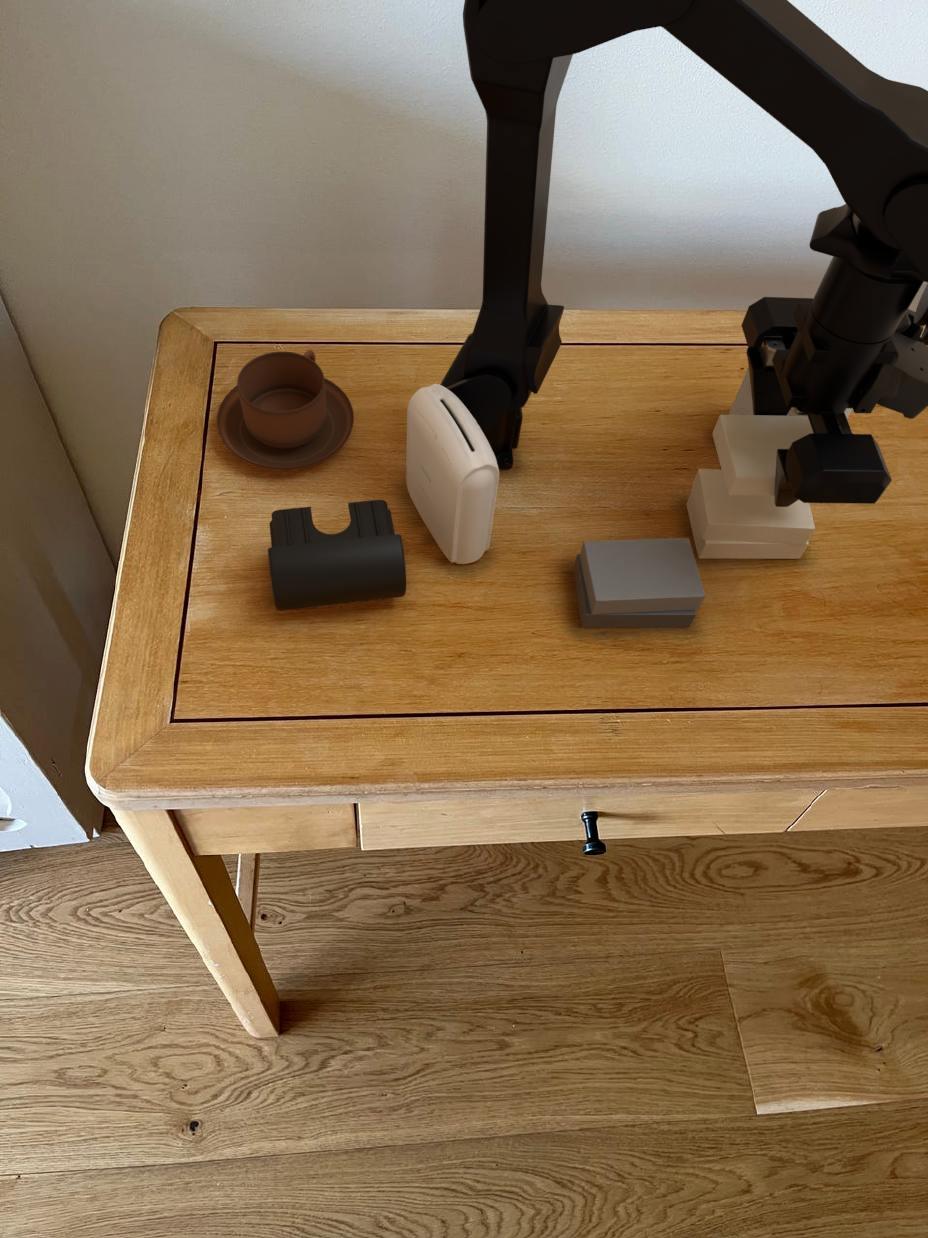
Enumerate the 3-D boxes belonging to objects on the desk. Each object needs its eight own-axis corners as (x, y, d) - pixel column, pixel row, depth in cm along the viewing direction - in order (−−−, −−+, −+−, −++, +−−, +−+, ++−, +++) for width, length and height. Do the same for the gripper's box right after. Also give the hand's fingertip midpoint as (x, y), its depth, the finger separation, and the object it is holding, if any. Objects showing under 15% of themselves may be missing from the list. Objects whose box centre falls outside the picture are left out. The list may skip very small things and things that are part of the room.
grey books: (580, 628, 75) (590, 600, 71) (572, 565, 78) (580, 536, 75) (692, 628, 75) (707, 600, 72) (679, 566, 79) (692, 537, 75)
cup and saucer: (230, 381, 87) (220, 329, 82) (358, 388, 88) (356, 337, 82) (210, 479, 80) (198, 428, 75) (349, 486, 81) (346, 436, 76)
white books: (694, 559, 79) (709, 527, 76) (681, 501, 83) (695, 468, 79) (800, 560, 80) (820, 528, 76) (782, 502, 84) (801, 469, 80)
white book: (727, 495, 72) (736, 476, 70) (711, 433, 76) (719, 413, 74) (841, 497, 73) (853, 478, 71) (820, 435, 76) (831, 415, 75)
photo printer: (398, 485, 82) (400, 378, 71) (442, 471, 83) (451, 364, 72) (449, 573, 77) (458, 472, 66) (495, 556, 78) (511, 455, 68)
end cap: (279, 631, 73) (270, 581, 67) (272, 558, 76) (263, 505, 71) (405, 615, 74) (407, 566, 69) (393, 545, 78) (393, 492, 72)
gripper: (1019, 418, 58) (901, 566, 71) (924, 232, 68) (836, 392, 81) (846, 415, 57) (759, 565, 70) (776, 227, 67) (712, 389, 80)
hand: (771, 472), depth 75 cm, fingers closed on white book, 6 cm apart
